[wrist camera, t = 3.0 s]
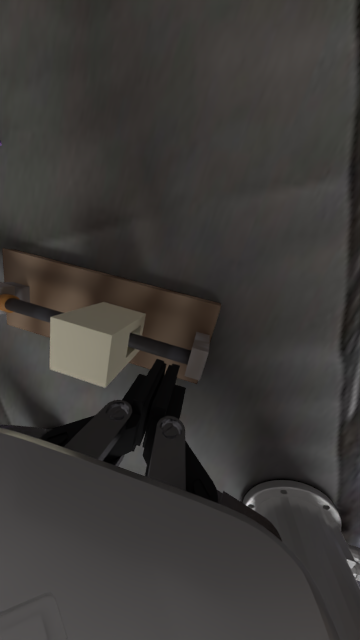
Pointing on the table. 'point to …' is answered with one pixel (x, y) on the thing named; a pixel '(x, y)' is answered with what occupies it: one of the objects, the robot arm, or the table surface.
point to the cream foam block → (94, 341)
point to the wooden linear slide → (96, 287)
